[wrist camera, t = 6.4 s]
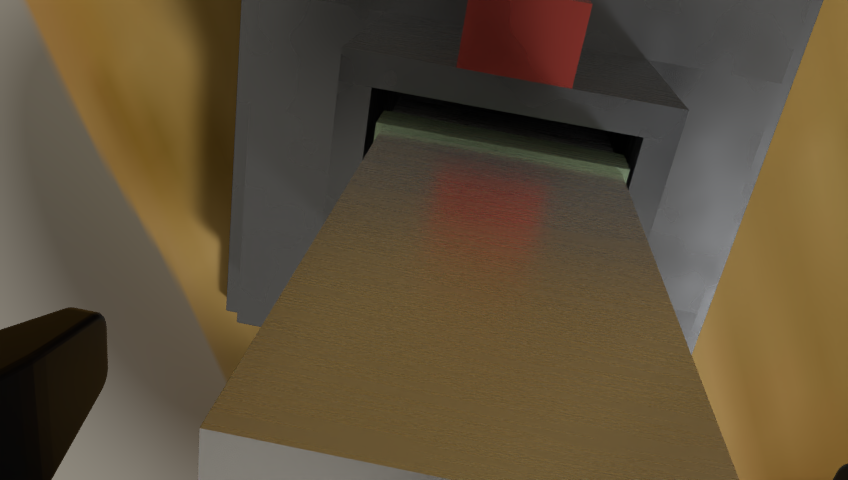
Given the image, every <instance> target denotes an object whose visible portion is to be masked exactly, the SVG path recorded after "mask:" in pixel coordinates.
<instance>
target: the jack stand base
mask: <svg viewBox="0 0 848 480" xmlns="http://www.w3.org/2000/svg"><path fill="white" fill-rule="evenodd" d="M822 2H823V0H242V2H241V22H240V42H239V63H238V83H237V103H236V123H235V144H234V164H233V184H232V205H231V225H230V245H229V266H228V286H227V306H226V310H227V311H232V312H237V313H238V314H237V322H239V323H244V324H249V325H254V326H259V327H261V326H262V324H263V323H264V321H265V320H266V318H267V316H268V315H269V313H270V311H271V310H272V308H273V306H274V305H275V303H276V301H277V300H278V298H279V297H280V295H281V293H282V292H283V290H284V288H285V287H286V285H287V283H288V282H289V280H290V278H291V277H292V275H293V274H294V272H295V270H296V269H297V267H298V265H299V264H300V262H301V260H302V259H303V257H304V255H305V254H306V252H307V251H308V249H309V247H310V246H311V244H312V242H313V241H314V239H315V237H316V236H317V234H318V232H319V231H320V229H321V228H322V226H323V224H324V223H325V221H326V219H327V218H328V216H329V214H330V213H331V211H332V209H333V208H334V206H335V205H336V203H337V201H338V200H339V198H340V196H341V195H342V193H343V191H344V190H345V188H346V186H347V185H348V183H349V182H350V180H351V178H352V177H353V175H354V173H355V172H356V170H357V168H358V167H359V165H360V163H361V162H362V160H363V159H364V157H365V155H366V154H367V152H368V150H369V149H370V147H371V145H372V144H373V142H374V135H375V127H376V122H377V120H378V119H379V117H380V116H381V114H382V113H383V111H384V110H386V111H393V109H394V108H395V106H396V104H397V103H398V101H399V99H400V98H401V96H402V94H403V93H406V94H411V95H416V96H422V97H427V98H433V99H438V100H443V101H449V102H454V103H460V104H465V105H471V106H476V107H481V108H487V109H492V110H498V111H503V112H508V113H514V114H519V115H525V116H530V117H535V118H541V119H546V120H552V121H557V122H563V123H568V124H573V125H579V126H584V127H590V128H595V129H600V130H605V131H606V133H607V136H608V139H609V141H610V144H611V146H612V149H613V152H614V153H618V154H623V155H624V157H625V159H626V161H627V164H628V166H629V169H630V171H629V175H628V178H627V182H626V186H627V188H628V191H629V193H630V196H631V199H632V201H633V204H634V206H635V209H636V212H637V214H638V217H639V220H640V222H641V225H642V227H643V230H644V233H645V235H646V238H647V240H648V243H649V246H650V248H651V251H652V253H653V256H654V259H655V261H656V264H657V267H658V269H659V272H660V274H661V277H662V280H663V282H664V285H665V287H666V290H667V293H668V295H669V298H670V300H671V303H672V306H673V308H674V311H675V314H676V316H677V319H678V321H679V324H680V327H681V329H682V332H683V334H684V337H685V340H686V342H687V345H688V347H689V350H690V353H691V355H692V352H693V349H694V347H695V344H696V341H697V339H698V336H699V333H700V331H701V328H702V325H703V323H704V320H705V317H706V314H707V312H708V309H709V306H710V304H711V301H712V298H713V296H714V293H715V290H716V288H717V285H718V282H719V279H720V277H721V274H722V271H723V269H724V266H725V263H726V261H727V258H728V255H729V253H730V250H731V247H732V245H733V242H734V239H735V236H736V234H737V231H738V228H739V226H740V223H741V220H742V218H743V215H744V212H745V210H746V207H747V204H748V202H749V199H750V196H751V193H752V191H753V188H754V185H755V183H756V180H757V177H758V175H759V172H760V169H761V167H762V164H763V161H764V158H765V156H766V153H767V150H768V148H769V145H770V142H771V140H772V137H773V134H774V132H775V129H776V126H777V124H778V121H779V118H780V115H781V113H782V110H783V107H784V105H785V102H786V99H787V97H788V94H789V91H790V89H791V86H792V83H793V80H794V78H795V75H796V72H797V70H798V67H799V64H800V62H801V59H802V56H803V54H804V51H805V48H806V46H807V43H808V40H809V37H810V35H811V32H812V29H813V27H814V24H815V21H816V19H817V16H818V13H819V11H820V8H821V5H822Z"/></svg>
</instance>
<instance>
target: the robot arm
mask: <svg viewBox="0 0 848 480" xmlns="http://www.w3.org/2000/svg"><path fill="white" fill-rule="evenodd" d="M107 371H108V359H107V328H106V321H105V318H104V317H103V316H102V315H101V314H100V313H98V312H93V311H88V310H83V309H78V308H65V309H62V310H59V311H56V312H53V313H50V314H47V315H44V316H41V317H38V318H35V319H32V320H29V321H26V322H23V323H20V324H17V325H14V326H10V327H8V328H4V329H1V330H0V480H51V479H52V478H53V476H54V474H55V472H56V471H57V469H58V467H59V465H60V464H61V462H62V460H63V458H64V456H65V455H66V453H67V451H68V449H69V447H70V446H71V444H72V442H73V440H74V439H75V437H76V435H77V433H78V431H79V430H80V428H81V426H82V424H83V422H84V421H85V419H86V417H87V415H88V414H89V412H90V410H91V408H92V406H93V405H94V403H95V401H96V399H97V397H98V396H99V394H100V392H101V390H102V388H103V386H104V384H105V381H106V377H107ZM833 480H848V464H845V465H843V466H842V467H841V468H839V470H838V471H837V473H836V475H835V477H834V479H833Z"/></svg>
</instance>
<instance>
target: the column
mask: <svg viewBox="0 0 848 480" xmlns="http://www.w3.org/2000/svg"><path fill="white" fill-rule="evenodd" d="M629 171H630V169H629V166H628V164H627V161H626V159H625V157H624V155H623V154H618V153H614V152H613V149H612V146H611V144H610V141H609V139H608V136H607V133H606V131H605V130H600V129H595V128H590V127H584V126H579V125H573V124H568V123H563V122H557V121H552V120H546V119H541V118H535V117H530V116H525V115H519V114H514V113H508V112H503V111H498V110H492V109H487V108H481V107H476V106H471V105H465V104H460V103H454V102H449V101H443V100H438V99H433V98H427V97H422V96H416V95H411V94H406V93H403V94H402V96H401V98H400V99H399V101H398V103H397V104H396V106H395V108H394V109H393V111H386V110H384V111H383V113H382V114H381V116H380V117H379V119H378V120H377V122H376V127H375V135H374V142H373V144H372V145H371V147H370V149H369V150H368V152H367V154H366V155H365V157H364V159H363V160H362V162H361V163H360V165H359V167H358V168H357V170H356V172H355V173H354V175H353V177H352V178H351V180H350V182H349V183H348V185H347V186H346V188H345V190H344V191H343V193H342V195H341V196H340V198H339V200H338V201H337V203H336V205H335V206H334V208H333V209H332V211H331V213H330V214H329V216H328V218H327V219H326V221H325V223H324V224H323V226H322V228H321V229H320V231H319V232H318V234H317V236H316V237H315V239H314V241H313V242H312V244H311V246H310V247H309V249H308V251H307V252H306V254H305V255H304V257H303V259H302V260H301V262H300V264H299V265H298V267H297V269H296V270H295V272H294V274H293V275H292V277H291V278H290V280H289V282H288V283H287V285H286V287H285V288H284V290H283V292H282V293H281V295H280V297H279V298H278V300H277V301H276V303H275V305H274V306H273V308H272V310H271V311H270V313H269V315H268V316H267V318H266V320H265V321H264V323H263V324H262V326H261V328H260V329H259V331H258V333H257V334H256V336H255V338H254V339H253V341H252V343H251V344H250V346H249V348H248V349H247V351H246V352H245V354H244V356H243V357H242V359H241V361H240V362H239V364H238V366H237V367H236V369H235V371H234V372H233V374H232V375H231V377H230V379H229V380H228V382H227V384H226V385H225V387H224V389H223V391H222V392H221V394H220V395H219V397H218V399H217V400H216V402H215V403H214V405H213V407H212V409H211V410H210V412H209V413H208V415H207V417H206V418H205V420H204V421H203V423H202V425H201V427H200V428H199V457H198V480H739V478H738V475H737V473H736V470H735V468H734V465H733V462H732V460H731V457H730V455H729V452H728V449H727V447H726V444H725V441H724V439H723V436H722V434H721V431H720V428H719V426H718V423H717V421H716V418H715V415H714V413H713V410H712V408H711V405H710V402H709V400H708V397H707V394H706V392H705V389H704V387H703V384H702V381H701V379H700V376H699V374H698V371H697V368H696V366H695V363H694V361H693V358H692V355H691V353H690V350H689V347H688V345H687V342H686V340H685V337H684V334H683V332H682V329H681V327H680V324H679V321H678V319H677V316H676V314H675V311H674V308H673V306H672V303H671V300H670V298H669V295H668V293H667V290H666V287H665V285H664V282H663V280H662V277H661V274H660V272H659V269H658V267H657V264H656V261H655V259H654V256H653V253H652V251H651V248H650V246H649V243H648V240H647V238H646V235H645V233H644V230H643V227H642V225H641V222H640V220H639V217H638V214H637V212H636V209H635V206H634V204H633V201H632V199H631V196H630V193H629V191H628V188H627V186H626V182H627V178H628V175H629Z"/></svg>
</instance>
